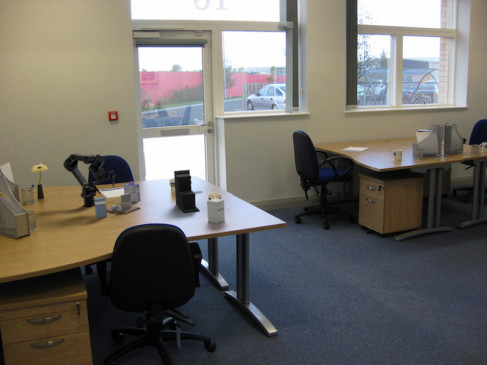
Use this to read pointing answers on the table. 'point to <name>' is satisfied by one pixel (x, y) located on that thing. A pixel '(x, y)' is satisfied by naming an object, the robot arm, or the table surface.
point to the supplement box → (215, 210)
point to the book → (100, 207)
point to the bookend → (184, 192)
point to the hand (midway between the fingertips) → (107, 190)
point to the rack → (123, 205)
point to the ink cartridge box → (132, 191)
